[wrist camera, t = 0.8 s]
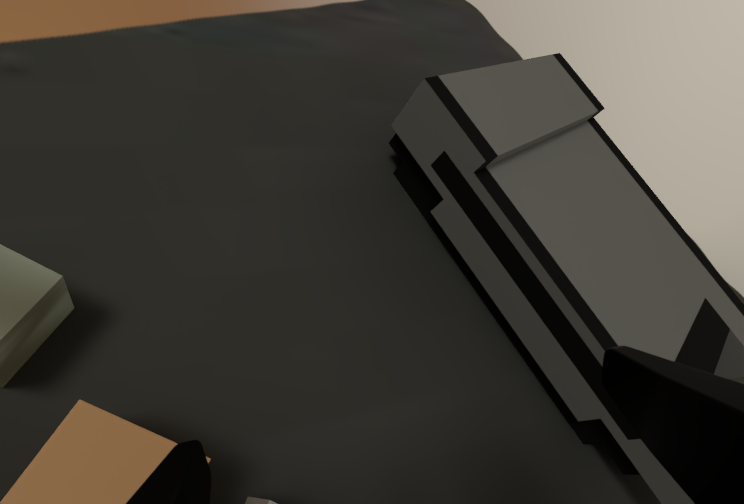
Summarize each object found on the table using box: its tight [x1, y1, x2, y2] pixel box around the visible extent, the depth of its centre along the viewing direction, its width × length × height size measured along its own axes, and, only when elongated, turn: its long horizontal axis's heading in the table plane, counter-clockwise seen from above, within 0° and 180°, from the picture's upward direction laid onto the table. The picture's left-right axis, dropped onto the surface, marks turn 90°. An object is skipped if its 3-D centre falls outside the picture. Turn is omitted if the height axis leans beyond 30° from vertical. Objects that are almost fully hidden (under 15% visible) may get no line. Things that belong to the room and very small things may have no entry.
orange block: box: [0, 400, 211, 504], centre depth 15 cm, size 5×5×6 cm
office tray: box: [389, 53, 744, 504], centre depth 34 cm, size 21×32×8 cm, turn 39°
